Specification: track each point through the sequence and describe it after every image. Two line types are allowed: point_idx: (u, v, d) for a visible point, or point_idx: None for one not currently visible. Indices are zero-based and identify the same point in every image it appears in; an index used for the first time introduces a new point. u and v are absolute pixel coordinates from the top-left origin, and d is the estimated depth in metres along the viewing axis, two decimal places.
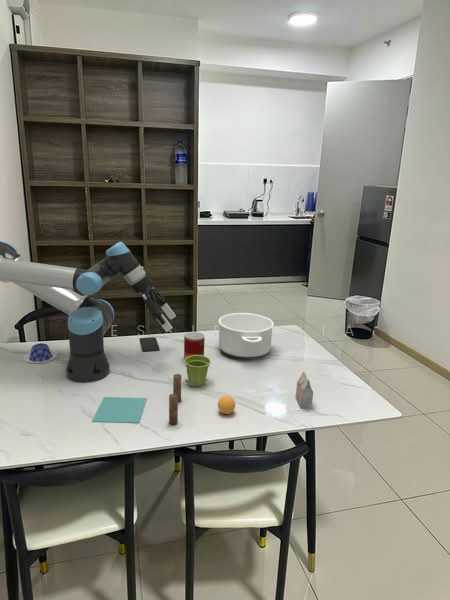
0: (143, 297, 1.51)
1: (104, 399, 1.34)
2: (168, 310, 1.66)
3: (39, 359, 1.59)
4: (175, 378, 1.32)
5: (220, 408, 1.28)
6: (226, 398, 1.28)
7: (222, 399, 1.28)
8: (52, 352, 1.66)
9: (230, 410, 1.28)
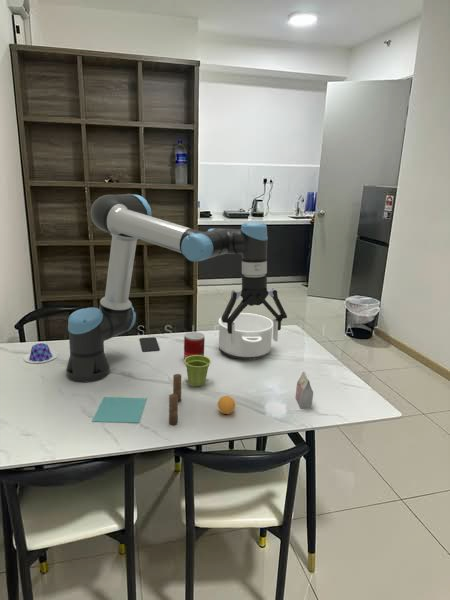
0: (232, 293, 1.25)
1: (104, 399, 1.34)
2: (274, 329, 1.29)
3: (39, 359, 1.59)
4: (175, 378, 1.32)
5: (220, 408, 1.28)
6: (226, 398, 1.28)
7: (222, 399, 1.28)
8: (52, 352, 1.66)
9: (230, 410, 1.28)
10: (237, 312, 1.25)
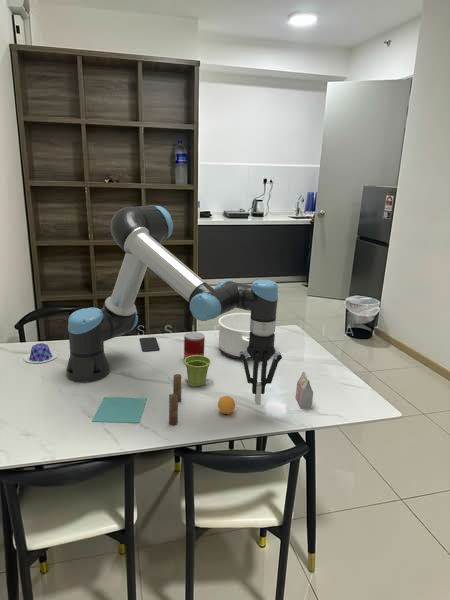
0: None
1: (104, 399, 1.34)
2: None
3: (39, 359, 1.59)
4: (175, 378, 1.32)
5: (220, 408, 1.28)
6: (226, 398, 1.28)
7: (222, 399, 1.28)
8: (52, 352, 1.66)
9: (230, 410, 1.28)
10: (255, 372, 1.25)
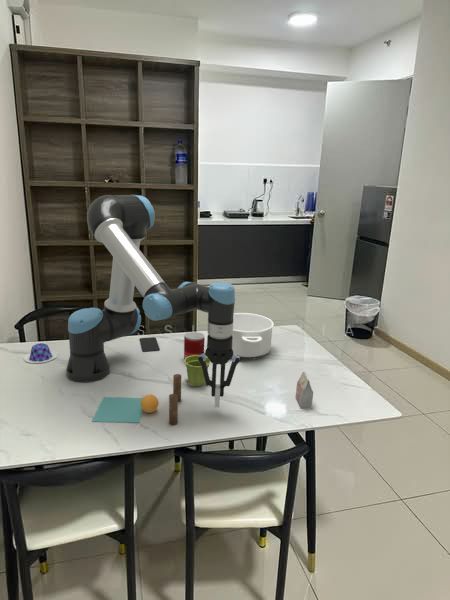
0: None
1: (104, 399, 1.34)
2: None
3: (39, 359, 1.59)
4: (175, 378, 1.32)
5: (152, 411, 1.27)
6: (142, 408, 1.28)
7: None
8: (52, 352, 1.66)
9: (148, 403, 1.26)
10: (213, 375, 1.25)
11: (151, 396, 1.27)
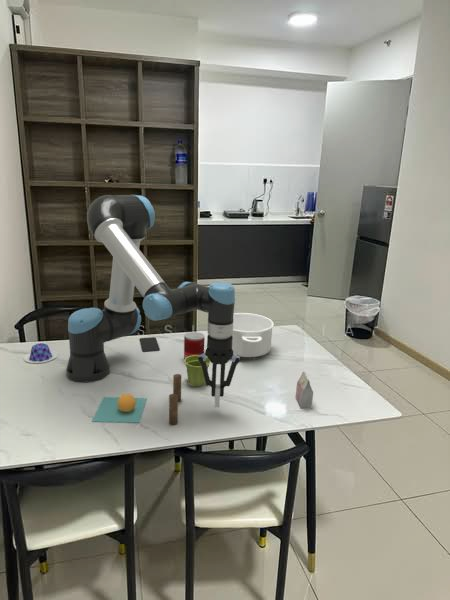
0: None
1: (104, 399, 1.34)
2: None
3: (39, 359, 1.59)
4: (175, 378, 1.32)
5: (124, 400, 1.26)
6: (135, 403, 1.27)
7: (133, 400, 1.27)
8: (52, 352, 1.66)
9: (123, 410, 1.26)
10: (213, 375, 1.25)
11: None
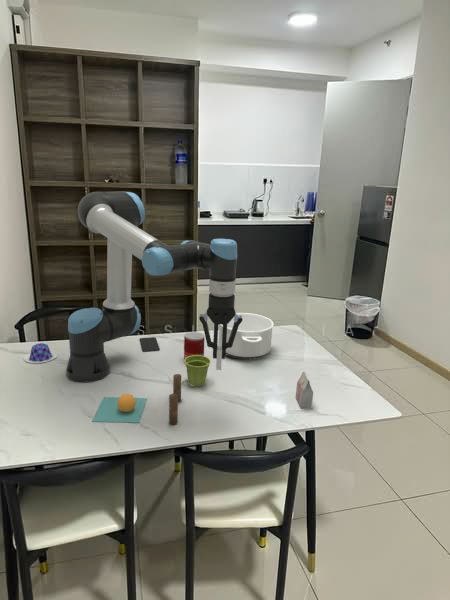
0: None
1: (104, 399, 1.34)
2: None
3: (39, 359, 1.59)
4: (175, 378, 1.32)
5: (124, 400, 1.26)
6: (135, 403, 1.27)
7: (133, 400, 1.27)
8: (52, 352, 1.66)
9: (123, 410, 1.26)
10: (215, 335, 1.22)
11: None
